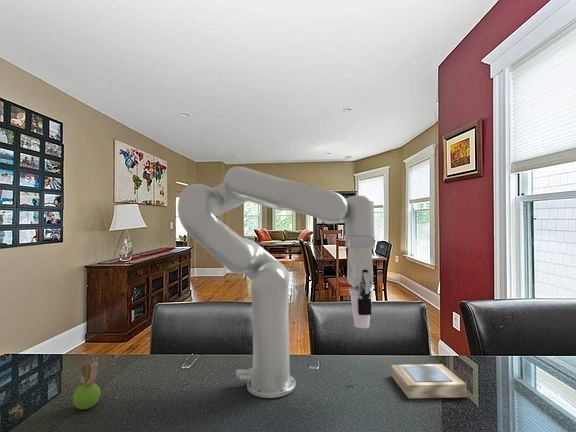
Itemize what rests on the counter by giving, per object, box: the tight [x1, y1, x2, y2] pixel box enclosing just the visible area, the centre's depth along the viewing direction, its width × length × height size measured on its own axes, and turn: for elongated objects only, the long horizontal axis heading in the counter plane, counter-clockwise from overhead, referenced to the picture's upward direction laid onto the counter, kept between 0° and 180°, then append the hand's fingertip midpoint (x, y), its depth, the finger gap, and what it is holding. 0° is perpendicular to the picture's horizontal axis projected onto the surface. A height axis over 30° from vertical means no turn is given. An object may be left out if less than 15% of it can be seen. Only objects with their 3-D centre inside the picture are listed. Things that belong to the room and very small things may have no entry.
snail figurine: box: [72, 356, 101, 410], centre depth 73 cm, size 5×6×12 cm
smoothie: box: [348, 285, 374, 329], centre depth 82 cm, size 6×6×14 cm
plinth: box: [391, 363, 468, 399], centre depth 81 cm, size 14×12×3 cm
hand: (361, 310), depth 82 cm, fingers closed on smoothie, 6 cm apart
